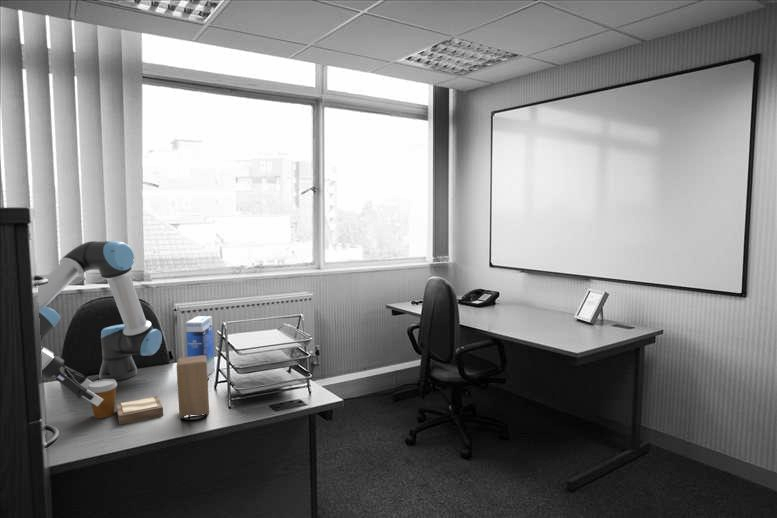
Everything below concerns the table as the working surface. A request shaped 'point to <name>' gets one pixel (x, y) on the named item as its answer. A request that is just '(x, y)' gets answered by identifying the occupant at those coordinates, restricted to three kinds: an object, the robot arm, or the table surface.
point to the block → (192, 385)
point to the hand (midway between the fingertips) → (99, 397)
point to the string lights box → (201, 339)
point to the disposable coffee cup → (104, 397)
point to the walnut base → (139, 409)
